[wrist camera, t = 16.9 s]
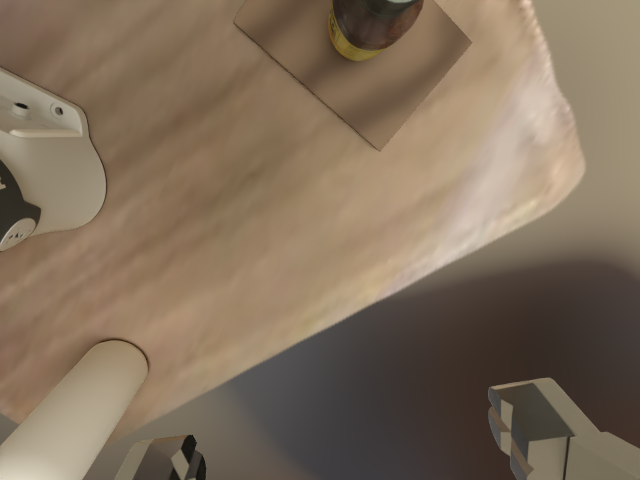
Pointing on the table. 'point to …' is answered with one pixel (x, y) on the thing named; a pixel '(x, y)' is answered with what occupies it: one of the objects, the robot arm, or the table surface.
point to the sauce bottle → (369, 25)
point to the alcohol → (75, 416)
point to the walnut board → (357, 76)
